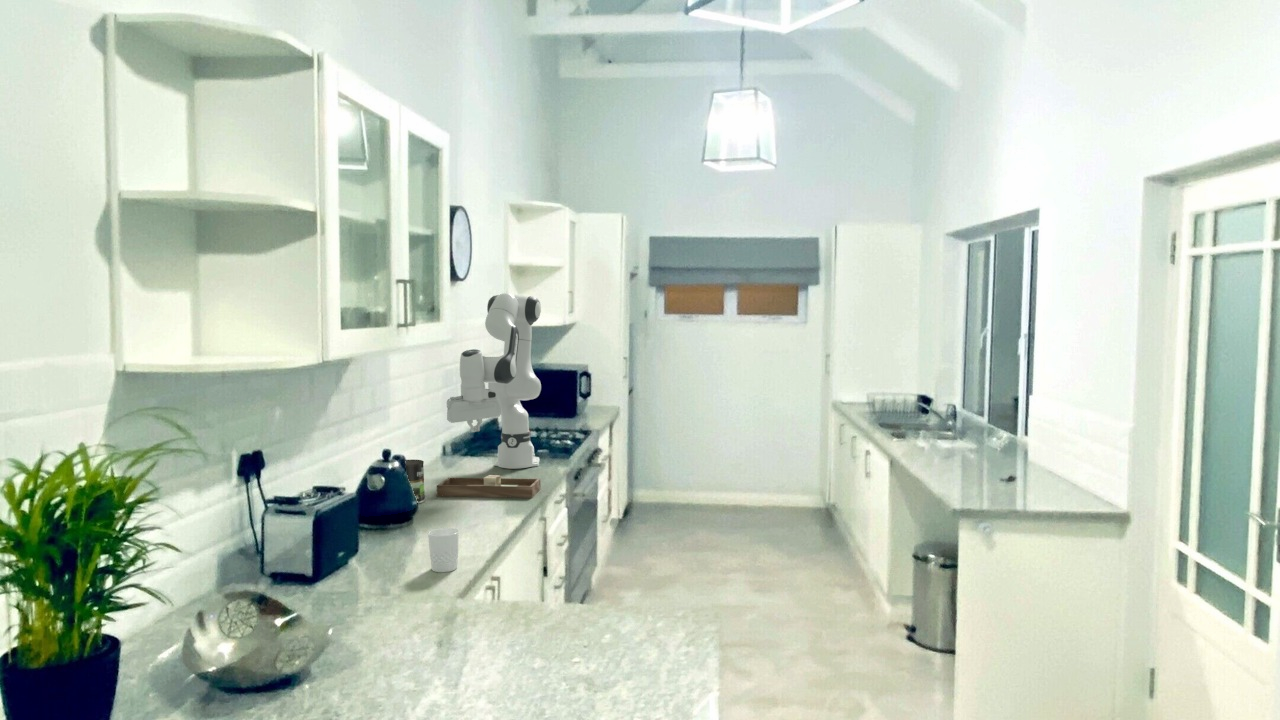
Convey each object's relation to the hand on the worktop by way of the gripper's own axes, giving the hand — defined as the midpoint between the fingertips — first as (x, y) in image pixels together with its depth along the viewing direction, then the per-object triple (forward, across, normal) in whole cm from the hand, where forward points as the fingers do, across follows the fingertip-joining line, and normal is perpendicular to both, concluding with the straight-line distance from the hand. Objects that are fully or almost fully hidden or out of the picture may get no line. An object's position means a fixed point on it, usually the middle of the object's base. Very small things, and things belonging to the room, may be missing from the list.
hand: (475, 431), depth 323 cm
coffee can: (+21, -27, -2) cm, 34 cm away
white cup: (+20, -46, -80) cm, 94 cm away
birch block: (+20, +1, -10) cm, 22 cm away
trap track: (+22, +1, -7) cm, 23 cm away
